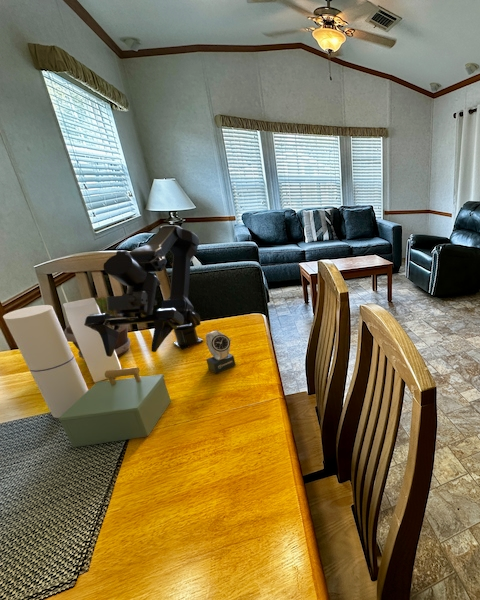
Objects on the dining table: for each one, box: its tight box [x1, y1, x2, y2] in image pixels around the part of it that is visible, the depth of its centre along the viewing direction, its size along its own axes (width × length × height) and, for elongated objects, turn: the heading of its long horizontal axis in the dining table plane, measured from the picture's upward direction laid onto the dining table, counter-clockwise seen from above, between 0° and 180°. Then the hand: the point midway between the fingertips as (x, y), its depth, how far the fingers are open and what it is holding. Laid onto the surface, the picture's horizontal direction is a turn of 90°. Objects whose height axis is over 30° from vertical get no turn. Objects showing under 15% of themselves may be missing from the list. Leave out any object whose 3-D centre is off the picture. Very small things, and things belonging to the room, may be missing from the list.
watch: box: [205, 330, 236, 375], centre depth 91 cm, size 6×8×11 cm
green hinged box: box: [59, 377, 172, 448], centre depth 72 cm, size 12×14×7 cm
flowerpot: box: [63, 292, 132, 360], centre depth 97 cm, size 14×15×20 cm
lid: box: [58, 366, 165, 421], centre depth 70 cm, size 12×14×4 cm
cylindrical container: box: [2, 304, 89, 419], centre depth 73 cm, size 7×7×25 cm
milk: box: [62, 297, 122, 384], centre depth 87 cm, size 6×6×22 cm
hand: (131, 354), depth 77 cm, fingers open, 9 cm apart
